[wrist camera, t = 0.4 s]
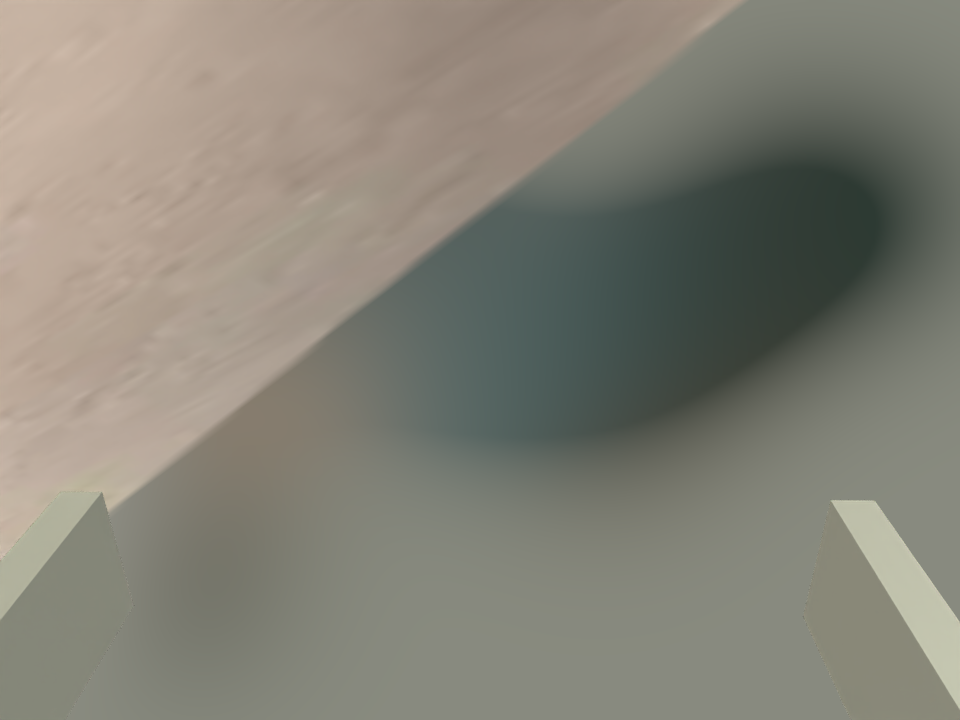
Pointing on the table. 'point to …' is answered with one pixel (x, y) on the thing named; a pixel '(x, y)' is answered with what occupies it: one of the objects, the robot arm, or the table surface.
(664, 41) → the table surface
